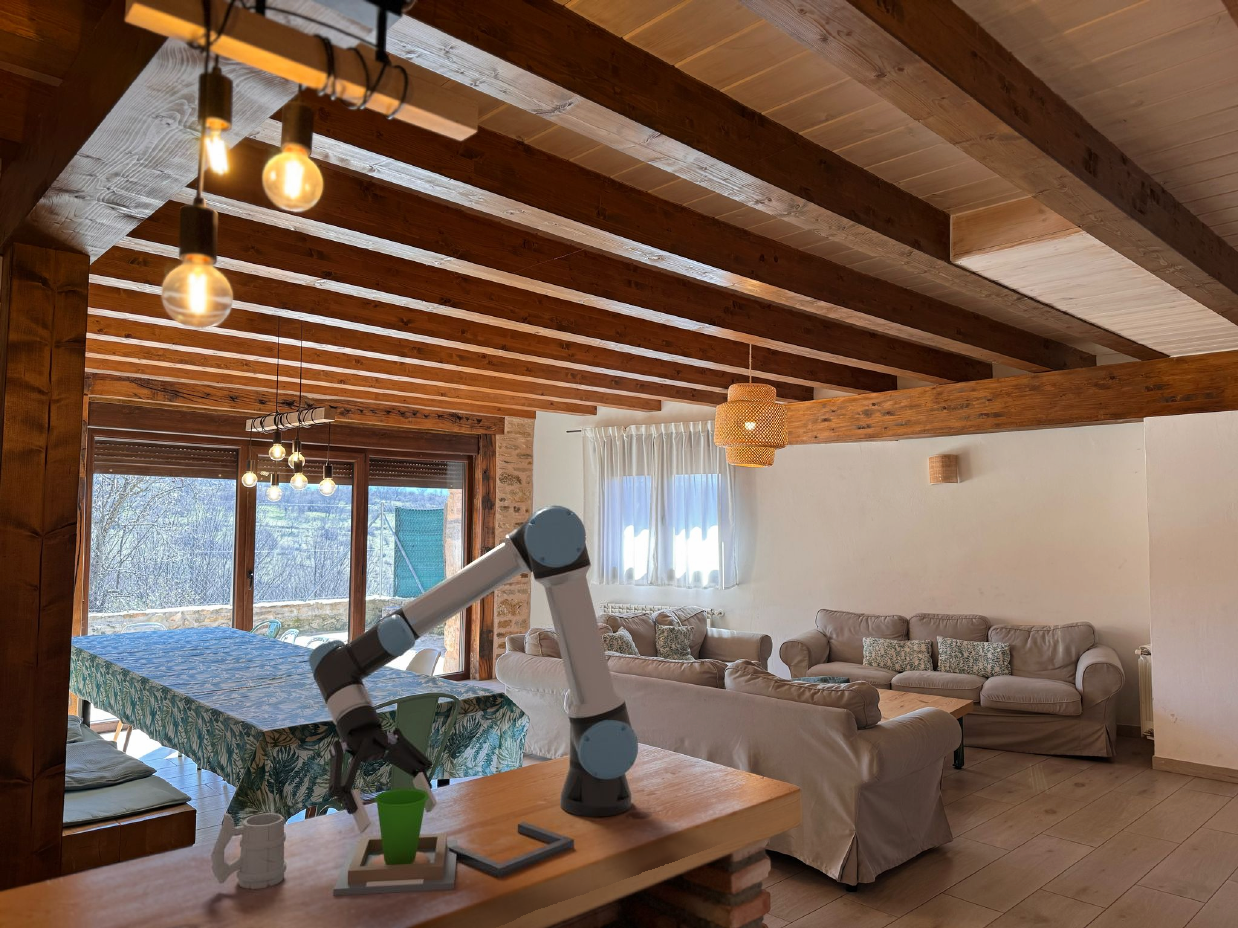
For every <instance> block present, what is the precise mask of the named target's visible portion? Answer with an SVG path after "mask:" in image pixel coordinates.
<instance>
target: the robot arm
mask: <svg viewBox="0 0 1238 928" xmlns="http://www.w3.org/2000/svg"><path fill="white" fill-rule="evenodd" d="M586 536H587V535H586V529H585V525H584V523H583V521H582V519H581V518H580V517H579V516H578V515H577V514H576V513H575V512H574V511H573V510H571V509H570V508H567V507H565V506H562V505H554V504H553V505H549V506H548V505H547V506H545V507H542V508H539V509H537V510H536V511H534V512H533V513H531V515H530V516H529V517H528V518H527V519H526V520H525V521H524V522H523V523H522V524H520V525H519V526H518V527H516V529H514V530H512V531H511V532H508V533H507V534H506V536H505V539H504V541H503V542H502V543H501V544H499V545H497V546H496V547H494V548H493V549H491V550H490V551H488V552H486V553H485V554H483V555H482V556H480V557H478V558H477V559H475V560H474V561H472V562H470V563H469V564H467V565H465V566H464V567H463V568H461V569H459V570H458V571H456V572H454V573H453V574H451V575H450V576H449V577H447V578H445V579H444V580H442V581H440V582H438V583H437V584H436V585H434V586H433V587H431V588H430V589H428V590H426V591H425V592H424V593H422V594H420V595H419V596H417V597H415V598H414V599H412V600H410V601H408V602H406V604H404V605H402V607H399V608H398V609H396V610H394V611H393V612H391V613H389V614H388V615H386V616H384V617H382V618H381V619H379V620H378V621H377V622H376V623H375V624H374V625H373V626H372V627H370V628H369V629H368V630H367V631H364V632H363V633H362V634H360V635H359V636H357V637H356V638H354V639H352V640H351V641H349V642H347V643H345V642H344V641H342V640H340V639H331V640H329V641H327V642H323V643H321V644H319V645H318V646H316V647H315V648H314V649H313V650H312V651H311V653H310V655H309V657H308V663H309V667H310V670H311V673H312V676H313V680H314V681H315V682H316V685H317V687H318V689H319V691H320V694H321V697H322V698H323V700H324V703H325V705H326V708H327V710H328V713H329V714H330V715H329V716H330V717H331V720H332V722H333V724H334V725H335V729H336V731H337V733H338V736H339V738H340V740H339V739H336V740H335V741H334V742H333V743H332V745H331V746H330V748H329V749H328V753H329V756H330V760H331V761H330V771H329V779H328V780H329V781H328V788H327V789H328V790H327V797H329V798H330V799H334V798H336V800H337V801H338V802H342V803H343V805H344V807H345V810H346V812H347V814H349V815H352V816H353V819H354V821H355V824H356V826H357V829H358V831H359V833H360V834H362V833H365V832H366V831H367V829H368V828H369V826H370V825H371V824H372V822H371V820H370V817H369V816H368V815H369V814H368V813H367V810H366V808H365V806H364V803H363V801H362V798H361V797H360V793H359V791H358V789H352V788H353V785H354V783H355V781H356V777H357V774H358V772H359V768H360V766H361V763H363V764H368V763H371V762H376V761H378V762H379V761H380V760H381V761H382V762H385V763H386V762H388V763H390V764H391V765H393V766H394V767H396V768H398V769H400V770H401V771H403V772H405V773H406V774H408V775H410V776H411V777H413V778H414V779H413V780H412V784H413V786H414V789H419V790H423V791H425V792H427V794H428V798H427V799H426V802H425V807H424V811H426V813H428V814H429V813H431V812H432V810H433V809H434V808H435V807H436V806H437V804H438V802H437V799H436V797H435V796H434V793H433V791H432V789H433V785H432V783H431V780H430V778H429V776H428V774H427V772H428V771H429V770H430V769H431V767H432V766H433V762H432V761H431V760H430V759H429V758H427V756H426V755H425V754H423V753H422V752H421V751H420V750H419V749H418V748H417V747H416V746H414V744H413V743H411V742H410V741H409V740H408V739H407V738H406V737H405V736H404V735H403V733H402V730H401V729H400V728H398V727H395V728H394V729H393V731H390V732H385V730H383V726H382V721H381V719H380V718H381V717H380V716H379V714H378V712H377V710H376V708H375V706H374V703H373V700H372V698H371V697H370V695H369V693H368V690H367V688H366V686H365V684H364V681H363V680H365V679H366V678H367V677H370V676H371V675H372V674H373V673H375V672H377V671H378V670H380V669H382V668H383V667H385V666H386V665H388V664H390V663H392V662H393V661H394V660H396V659H398V658H399V657H401V656H404V654H405V653H407V652H408V651H410V650H411V649H412V648H414V646H415V644H416V641H417V640H420V638H422V637H423V636H425V635H427V634H428V633H430V632H431V631H433V630H434V629H436V628H437V627H439V626H441V625H443V624H444V623H445V622H447V621H448V620H450V619H451V618H453V617H455V616H457V614H458V615H459V613H461V612H462V611H464V610H465V609H468V608H469V607H470V606H472V605H473V604H476V603H477V602H479V601H480V600H482V599H483V598H485V597H487V596H488V595H489V594H491V593H493V592H494V591H496V590H497V589H499V588H500V587H502V586H503V585H505V584H507V583H508V582H509V581H511V580H513V579H514V578H516V577H518V576H519V575H522V574H523V573H526V574H531V573H532V575H533V577H534V578H533V579H534V581H535V582H537V583H539V584H540V585H542V586H543V587H544V591H545V596H546V600H547V602H548V607H549V611H550V614H551V615H550V616H551V620H552V625H553V627H554V631H555V635H556V639H557V643H558V644H557V645H558V647H559V652H560V656H561V661H562V663H563V668H564V673H565V677H566V680H567V684H568V688H569V692H570V696H571V700H570V708H569V710H568V712H567V716H568V719H569V724H570V725H569V727H570V728H569V766H568V767H569V768H568V770H567V774H566V777H565V781H564V783H563V786H562V790H561V792H560V808H561V809H562V810H564V811H565V812H568V813H570V814H573V815H578V816H584V817H597V818H598V817H611V816H616V815H620V814H623V813H625V812H627V811H629V810H630V809H631V808H632V792H631V788H630V786H629V785H630V784H629V783H628V777H627V775H626V773H627V772H629V771H630V769H631V768H632V767H633V765H634V764H635V762H636V760H637V757H638V753H639V741H638V736H637V734H636V733H635V730H634V729H633V728H632V724H631V720H630V715H629V711H628V708H627V705H626V704H627V703H626V701H625V697H624V696H622V695H620V694H619V693H617V692H616V691H615V688H614V684H613V679H612V676H611V671H610V668H609V663H608V659H607V655H606V651H605V647H604V643H603V640H602V636H601V630H600V627H599V622H598V619H597V616H596V615H597V614H596V610H595V607H594V603H593V599H592V596H591V591H590V587H589V583H588V579H587V574H588V572H589V570H590V568H591V567H592V564H591V560H590V557H589V556H590V555H589V552H588V548H587V543H586V540H587V537H586ZM386 750H387V752H386ZM345 753H347V754H348V755H350V756H351V760H350V762H349V765H348V766H349V767H348V769H347V772H346V775H345V778H344V780H343V782H342V776H343V775H342V774H343V762H344V754H345Z"/></svg>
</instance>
